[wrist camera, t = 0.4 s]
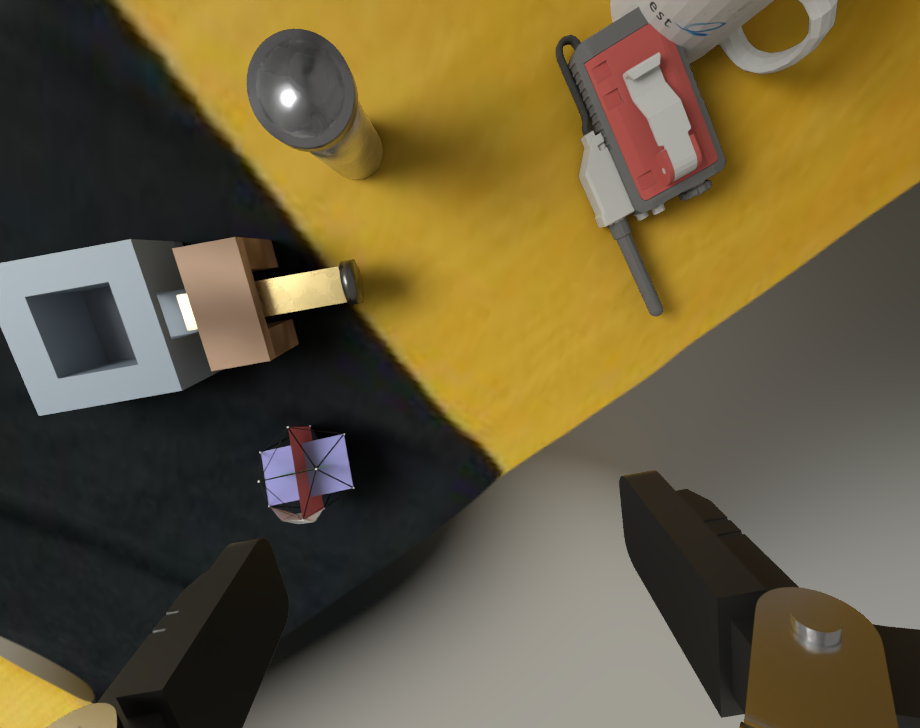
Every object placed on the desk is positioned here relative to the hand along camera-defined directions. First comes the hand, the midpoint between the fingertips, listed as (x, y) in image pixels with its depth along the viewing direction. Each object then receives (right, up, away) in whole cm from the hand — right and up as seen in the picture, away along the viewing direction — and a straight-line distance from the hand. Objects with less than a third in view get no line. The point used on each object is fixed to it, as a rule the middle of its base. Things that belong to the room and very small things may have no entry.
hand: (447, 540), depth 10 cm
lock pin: (-13, +9, +22) cm, 27 cm away
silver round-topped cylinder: (-7, +19, +22) cm, 30 cm away
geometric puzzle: (-12, -3, +28) cm, 30 cm away
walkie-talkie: (+13, +18, +23) cm, 32 cm away
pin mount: (-15, +9, +24) cm, 30 cm away
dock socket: (-24, +7, +24) cm, 35 cm away
